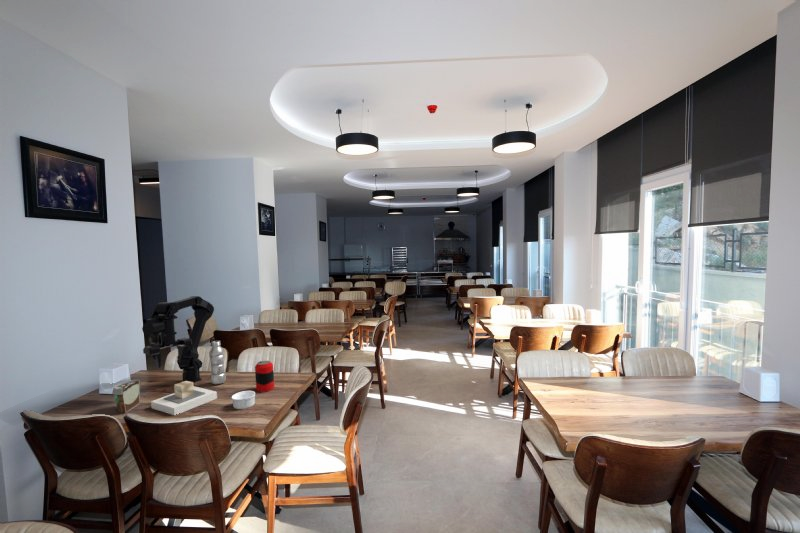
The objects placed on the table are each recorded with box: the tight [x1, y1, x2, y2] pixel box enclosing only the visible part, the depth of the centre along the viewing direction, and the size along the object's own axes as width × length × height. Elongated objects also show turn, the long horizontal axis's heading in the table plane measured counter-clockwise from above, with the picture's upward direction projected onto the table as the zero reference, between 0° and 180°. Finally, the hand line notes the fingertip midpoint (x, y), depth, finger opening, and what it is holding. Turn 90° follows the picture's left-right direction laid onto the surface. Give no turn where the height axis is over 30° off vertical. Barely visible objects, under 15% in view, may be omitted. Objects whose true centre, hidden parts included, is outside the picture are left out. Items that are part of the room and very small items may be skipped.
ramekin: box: [231, 390, 256, 410], centre depth 154 cm, size 9×9×4 cm
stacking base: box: [150, 385, 218, 416], centre depth 159 cm, size 18×16×3 cm
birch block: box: [173, 381, 194, 399], centre depth 159 cm, size 5×5×5 cm
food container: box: [112, 378, 141, 414], centre depth 155 cm, size 12×6×10 cm, turn 5°
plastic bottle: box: [208, 340, 227, 385], centre depth 181 cm, size 6×7×20 cm
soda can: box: [254, 360, 275, 393], centre depth 171 cm, size 8×8×12 cm
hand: (169, 364), depth 173 cm, fingers open, 9 cm apart
